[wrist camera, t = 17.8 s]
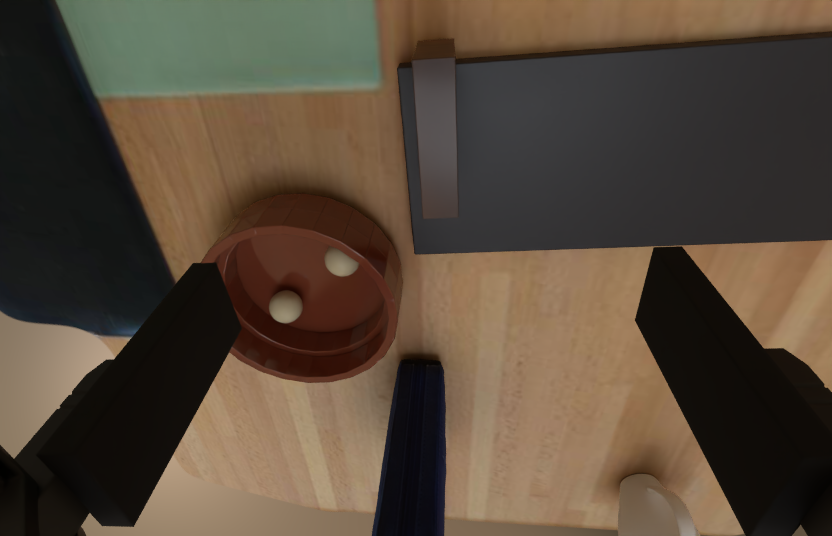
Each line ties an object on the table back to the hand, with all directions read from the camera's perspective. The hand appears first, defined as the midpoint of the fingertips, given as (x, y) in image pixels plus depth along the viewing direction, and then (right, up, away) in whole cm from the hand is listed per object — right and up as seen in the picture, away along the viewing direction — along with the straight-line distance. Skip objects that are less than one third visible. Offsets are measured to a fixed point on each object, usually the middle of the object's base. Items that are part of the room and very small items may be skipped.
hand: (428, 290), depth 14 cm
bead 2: (-6, +1, +22) cm, 23 cm away
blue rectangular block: (0, -13, +35) cm, 37 cm away
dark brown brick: (+1, +11, +16) cm, 19 cm away
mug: (+27, -24, +40) cm, 54 cm away
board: (+17, +9, +18) cm, 26 cm away
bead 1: (-12, -3, +25) cm, 28 cm away
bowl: (-9, +1, +25) cm, 27 cm away
